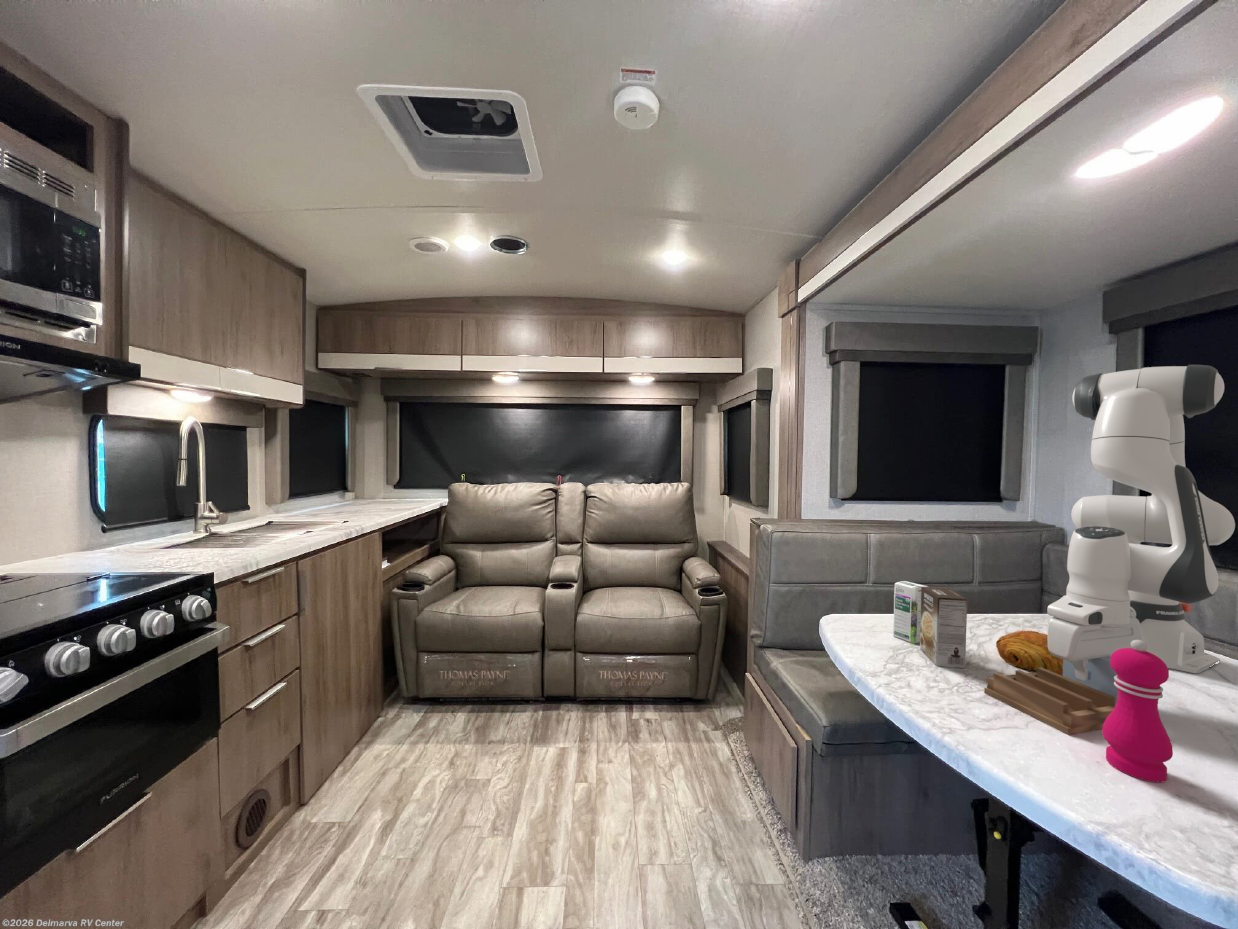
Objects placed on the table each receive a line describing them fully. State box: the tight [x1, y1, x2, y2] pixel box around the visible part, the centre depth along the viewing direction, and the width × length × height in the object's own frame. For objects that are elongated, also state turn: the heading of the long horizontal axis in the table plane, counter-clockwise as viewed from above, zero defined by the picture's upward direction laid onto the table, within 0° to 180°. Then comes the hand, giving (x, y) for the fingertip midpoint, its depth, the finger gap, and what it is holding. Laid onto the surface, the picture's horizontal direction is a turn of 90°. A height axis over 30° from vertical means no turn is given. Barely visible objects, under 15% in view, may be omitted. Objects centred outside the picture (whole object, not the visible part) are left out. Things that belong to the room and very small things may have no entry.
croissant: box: [995, 630, 1063, 676], centre depth 107 cm, size 14×16×8 cm
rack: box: [983, 667, 1115, 736], centre depth 88 cm, size 14×14×4 cm
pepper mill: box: [1101, 640, 1174, 783], centre depth 71 cm, size 7×7×20 cm
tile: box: [1063, 657, 1118, 705], centre depth 92 cm, size 3×9×9 cm, turn 13°
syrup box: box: [892, 580, 928, 644], centre depth 121 cm, size 6×6×14 cm
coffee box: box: [919, 586, 968, 669], centre depth 109 cm, size 9×6×16 cm
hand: (1094, 677), depth 92 cm, fingers open, 5 cm apart
